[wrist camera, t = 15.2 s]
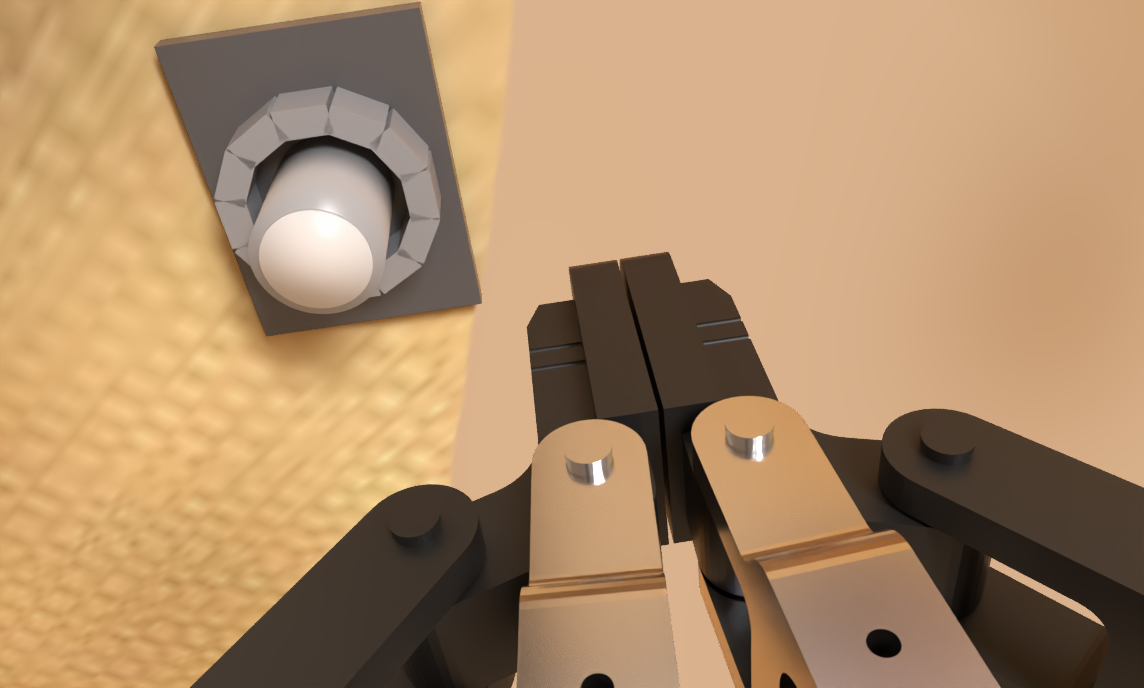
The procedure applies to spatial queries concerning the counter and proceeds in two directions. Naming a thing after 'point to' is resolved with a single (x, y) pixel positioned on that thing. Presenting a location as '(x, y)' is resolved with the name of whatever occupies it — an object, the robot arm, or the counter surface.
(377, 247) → the peg
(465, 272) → the plate with ring hole
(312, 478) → the counter surface
